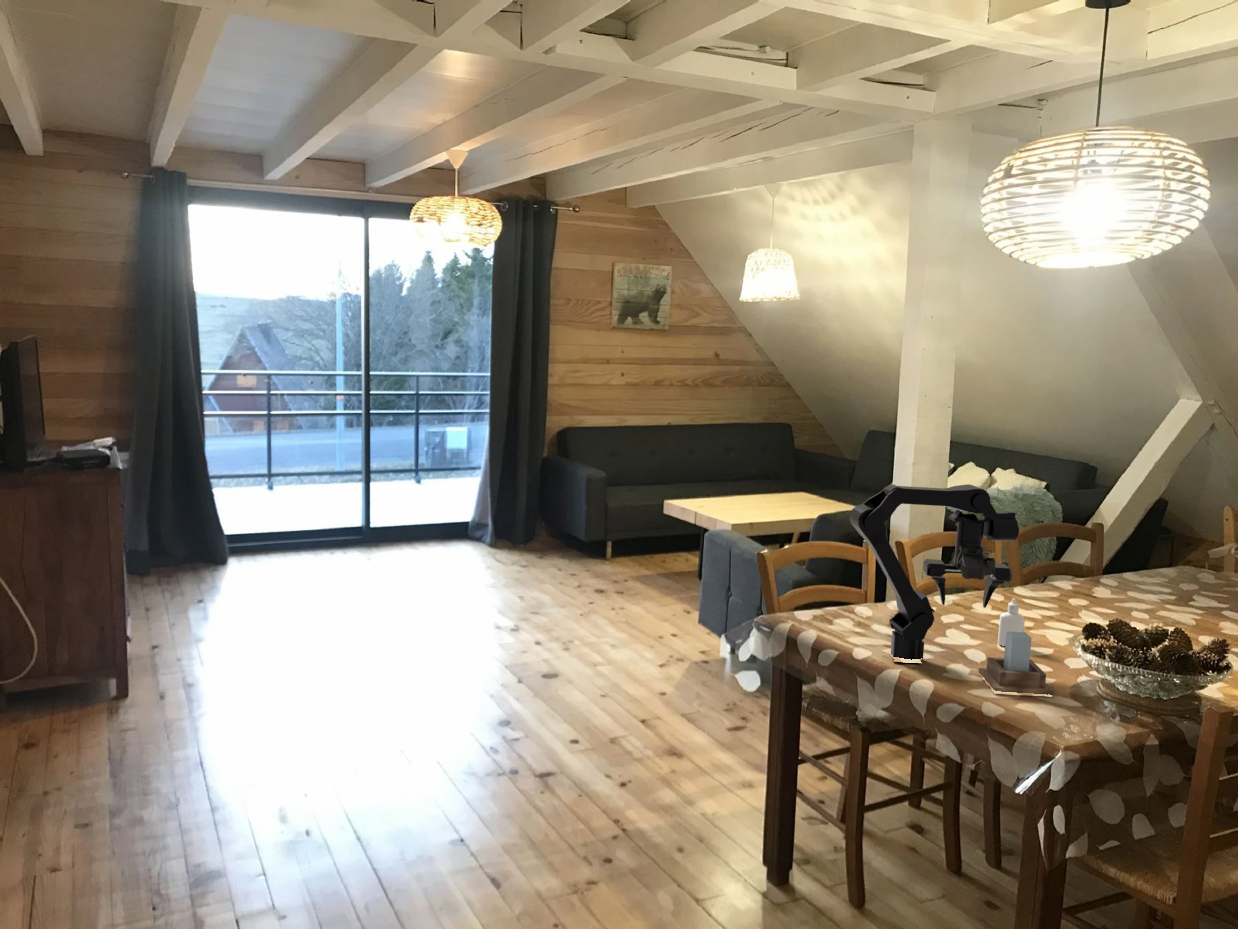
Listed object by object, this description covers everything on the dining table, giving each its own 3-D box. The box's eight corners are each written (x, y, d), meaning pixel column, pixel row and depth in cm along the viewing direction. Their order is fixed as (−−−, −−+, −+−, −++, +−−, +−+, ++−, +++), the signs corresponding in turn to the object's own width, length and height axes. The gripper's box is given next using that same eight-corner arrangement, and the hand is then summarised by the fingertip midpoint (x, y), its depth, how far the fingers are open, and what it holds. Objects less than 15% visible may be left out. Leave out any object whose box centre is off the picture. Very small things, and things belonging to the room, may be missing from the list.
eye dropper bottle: (1002, 641, 241) (1006, 594, 239) (1025, 647, 237) (1029, 599, 235) (994, 645, 238) (998, 597, 236) (1017, 651, 234) (1021, 602, 232)
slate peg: (1008, 682, 209) (1012, 637, 207) (1002, 675, 213) (1006, 631, 211) (1027, 683, 208) (1031, 638, 207) (1021, 676, 212) (1025, 632, 211)
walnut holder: (994, 694, 205) (996, 674, 205) (978, 674, 217) (979, 655, 216) (1052, 697, 204) (1054, 677, 204) (1033, 677, 216) (1035, 657, 216)
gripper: (934, 545, 216) (928, 613, 218) (1021, 550, 214) (1015, 619, 216) (925, 534, 227) (919, 599, 229) (1008, 539, 224) (1002, 605, 227)
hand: (963, 606), depth 225 cm, fingers open, 9 cm apart
